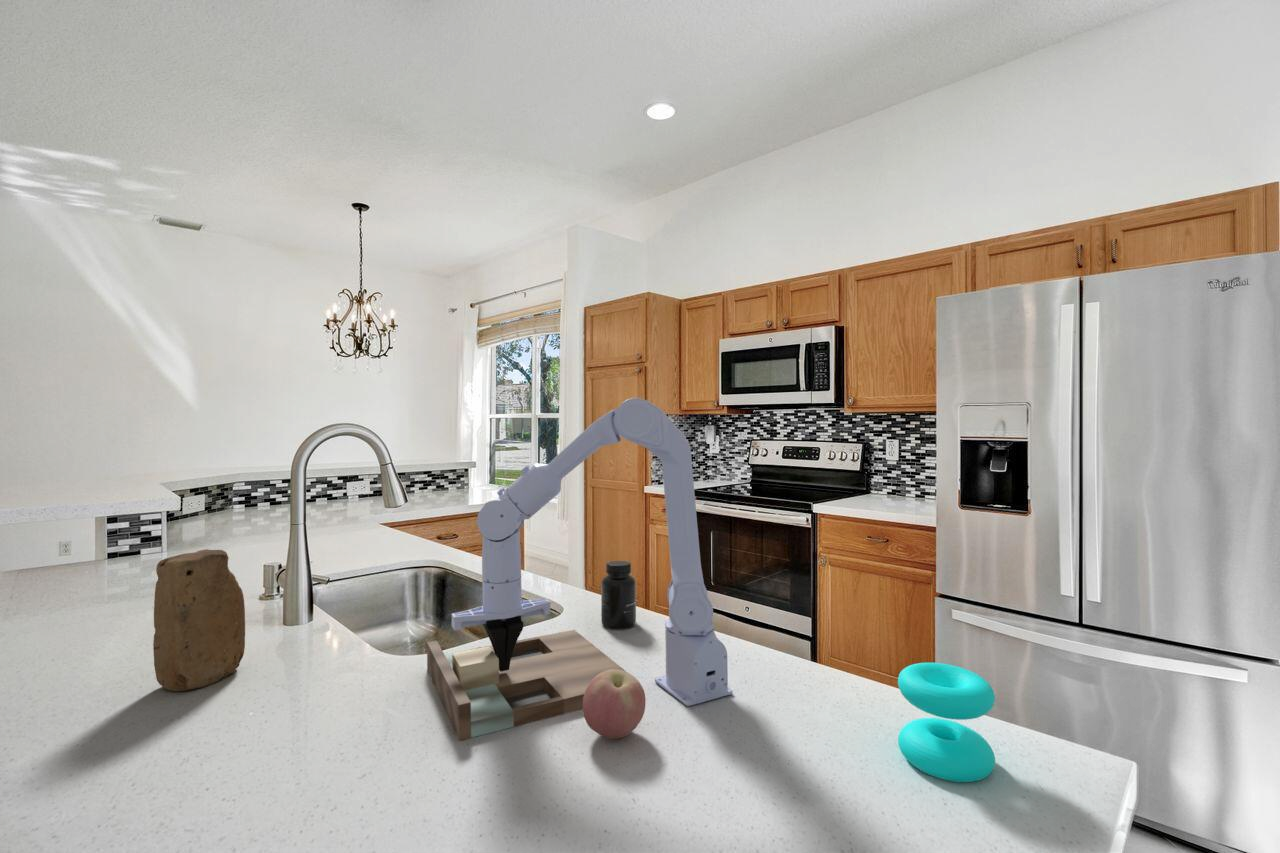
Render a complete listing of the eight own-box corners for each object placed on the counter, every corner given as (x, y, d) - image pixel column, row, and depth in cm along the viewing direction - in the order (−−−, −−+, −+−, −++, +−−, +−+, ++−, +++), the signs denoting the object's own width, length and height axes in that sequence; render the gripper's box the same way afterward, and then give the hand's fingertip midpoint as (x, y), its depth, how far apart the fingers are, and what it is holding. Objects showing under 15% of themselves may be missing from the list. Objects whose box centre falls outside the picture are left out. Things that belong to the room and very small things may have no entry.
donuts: (1005, 675, 69) (978, 704, 62) (1006, 761, 69) (979, 800, 62) (916, 652, 76) (883, 676, 69) (917, 730, 76) (884, 761, 69)
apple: (589, 757, 71) (588, 690, 71) (578, 725, 78) (577, 664, 78) (652, 746, 73) (652, 681, 73) (636, 717, 80) (636, 657, 80)
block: (176, 698, 87) (173, 562, 87) (149, 689, 90) (146, 557, 90) (252, 670, 97) (250, 547, 97) (225, 662, 100) (223, 543, 100)
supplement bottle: (635, 630, 114) (635, 567, 114) (600, 630, 114) (599, 567, 114) (636, 618, 121) (636, 558, 120) (603, 618, 121) (602, 559, 121)
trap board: (638, 694, 87) (637, 663, 87) (459, 740, 75) (458, 705, 75) (574, 640, 108) (574, 616, 108) (427, 669, 96) (426, 642, 96)
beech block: (499, 682, 87) (498, 658, 87) (460, 691, 84) (460, 666, 84) (489, 669, 92) (489, 646, 91) (452, 676, 89) (452, 653, 89)
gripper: (539, 566, 97) (540, 650, 97) (447, 578, 90) (448, 668, 90) (554, 576, 90) (555, 665, 91) (456, 590, 84) (457, 686, 84)
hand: (503, 668), depth 90 cm, fingers closed
